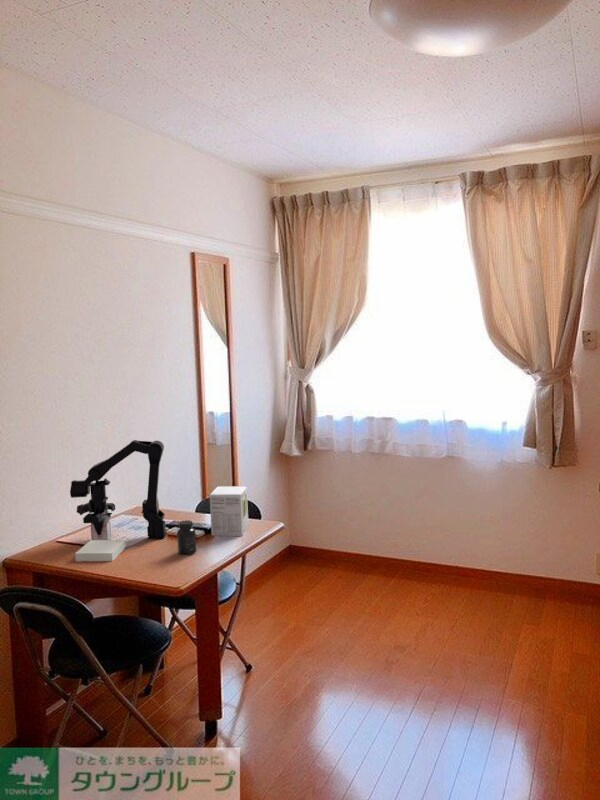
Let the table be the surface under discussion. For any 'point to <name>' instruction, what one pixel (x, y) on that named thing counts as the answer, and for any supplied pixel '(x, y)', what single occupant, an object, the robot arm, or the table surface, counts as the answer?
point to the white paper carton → (105, 530)
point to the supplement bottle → (186, 538)
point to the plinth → (100, 550)
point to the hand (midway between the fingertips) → (101, 533)
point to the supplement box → (229, 511)
